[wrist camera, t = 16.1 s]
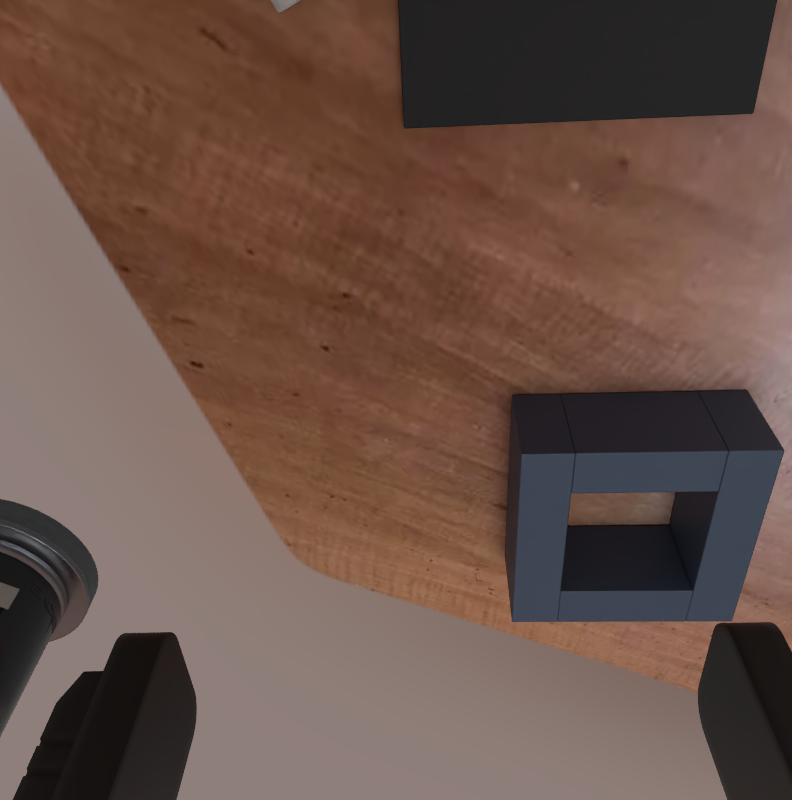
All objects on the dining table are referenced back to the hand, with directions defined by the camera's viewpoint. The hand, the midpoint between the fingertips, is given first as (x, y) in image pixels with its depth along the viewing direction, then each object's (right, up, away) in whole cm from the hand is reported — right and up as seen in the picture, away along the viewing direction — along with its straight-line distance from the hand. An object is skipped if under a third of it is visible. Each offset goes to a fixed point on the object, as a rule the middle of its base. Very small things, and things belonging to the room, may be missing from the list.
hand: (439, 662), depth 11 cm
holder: (+12, -1, +31) cm, 33 cm away
